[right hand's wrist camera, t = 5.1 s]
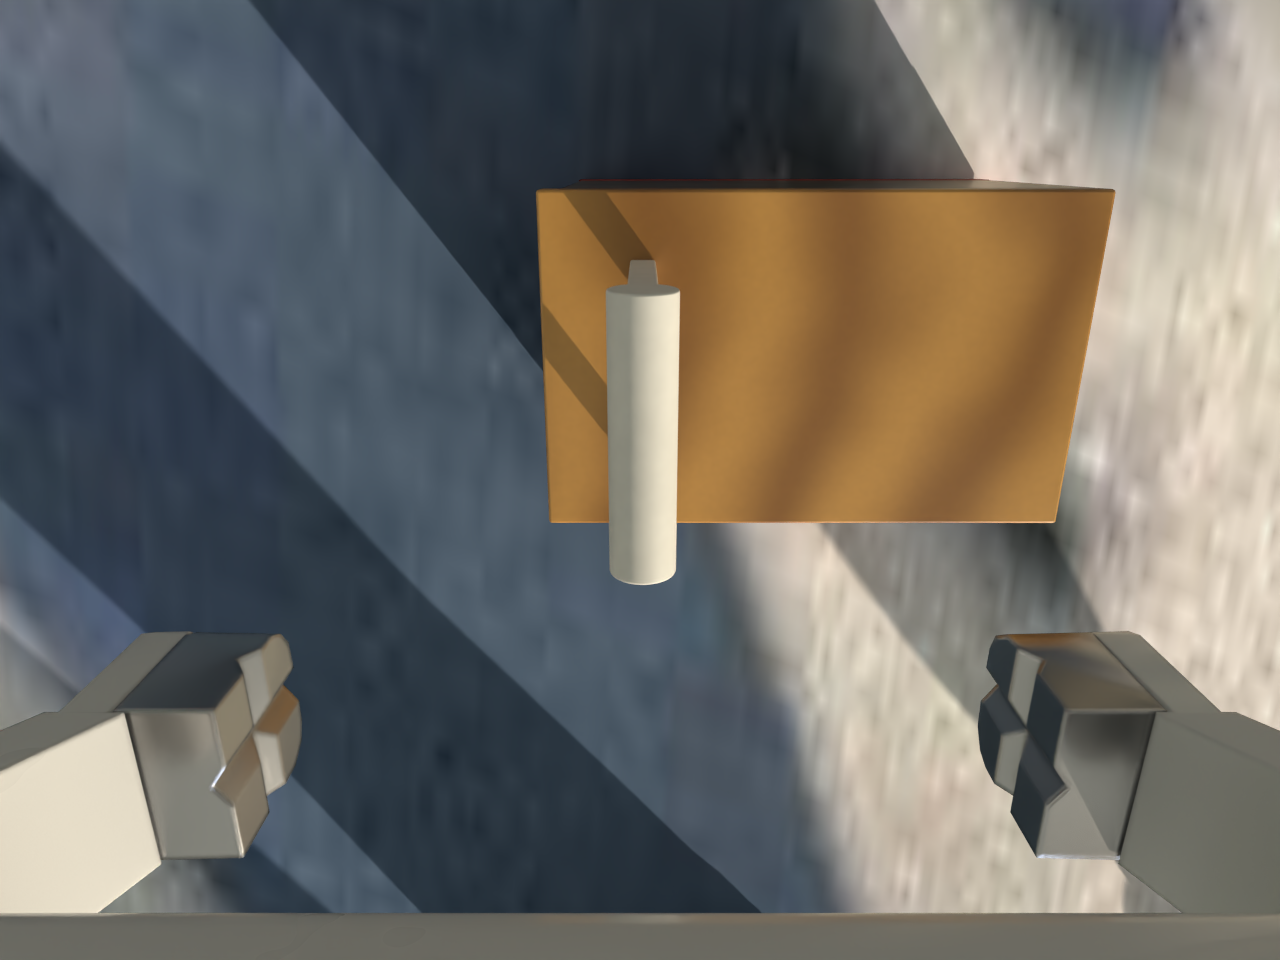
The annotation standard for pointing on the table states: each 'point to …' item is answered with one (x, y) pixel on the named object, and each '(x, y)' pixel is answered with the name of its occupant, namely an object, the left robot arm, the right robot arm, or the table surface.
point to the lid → (810, 355)
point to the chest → (802, 183)
